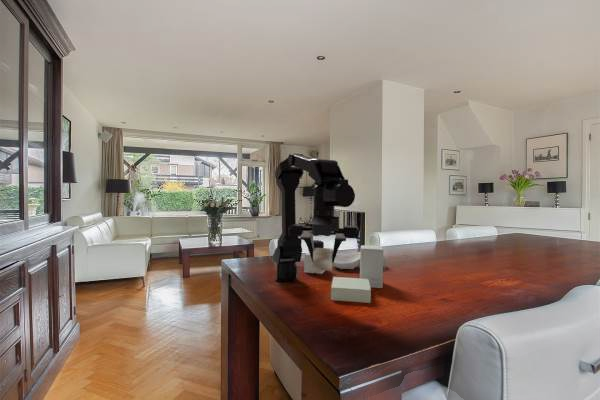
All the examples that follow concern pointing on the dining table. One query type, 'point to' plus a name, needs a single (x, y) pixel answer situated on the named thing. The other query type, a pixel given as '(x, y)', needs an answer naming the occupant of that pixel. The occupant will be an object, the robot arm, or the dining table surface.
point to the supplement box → (372, 265)
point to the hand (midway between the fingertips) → (323, 262)
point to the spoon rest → (350, 261)
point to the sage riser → (351, 289)
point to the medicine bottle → (308, 261)
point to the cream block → (322, 259)
